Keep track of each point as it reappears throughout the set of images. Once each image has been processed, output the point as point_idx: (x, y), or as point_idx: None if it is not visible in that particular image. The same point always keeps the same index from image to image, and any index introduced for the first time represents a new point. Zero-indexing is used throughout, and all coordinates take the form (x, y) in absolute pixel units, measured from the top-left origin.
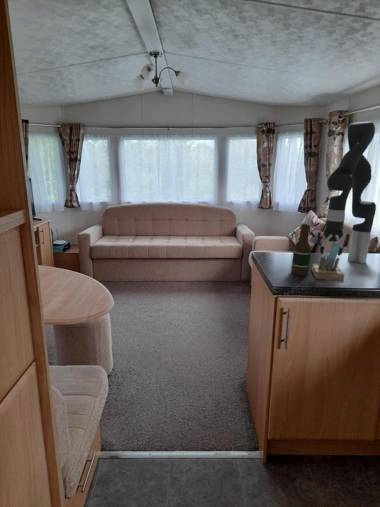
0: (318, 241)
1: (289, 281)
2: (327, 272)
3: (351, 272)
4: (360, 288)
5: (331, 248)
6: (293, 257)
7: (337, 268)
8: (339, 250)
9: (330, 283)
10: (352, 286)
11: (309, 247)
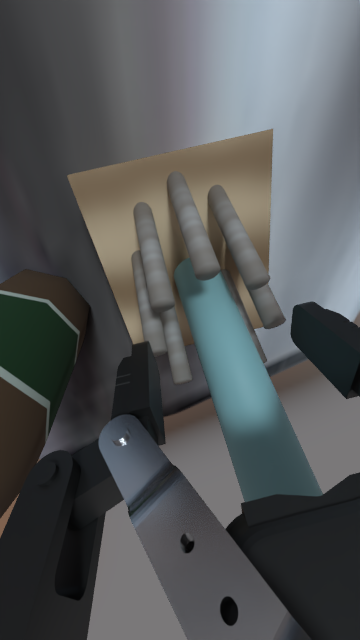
0: (74, 558)
1: (58, 413)
2: (189, 332)
3: (354, 76)
4: (293, 356)
5: (240, 487)
6: None
7: (254, 210)
8: (326, 374)
9: (198, 361)
10: (272, 351)
11: (12, 484)
